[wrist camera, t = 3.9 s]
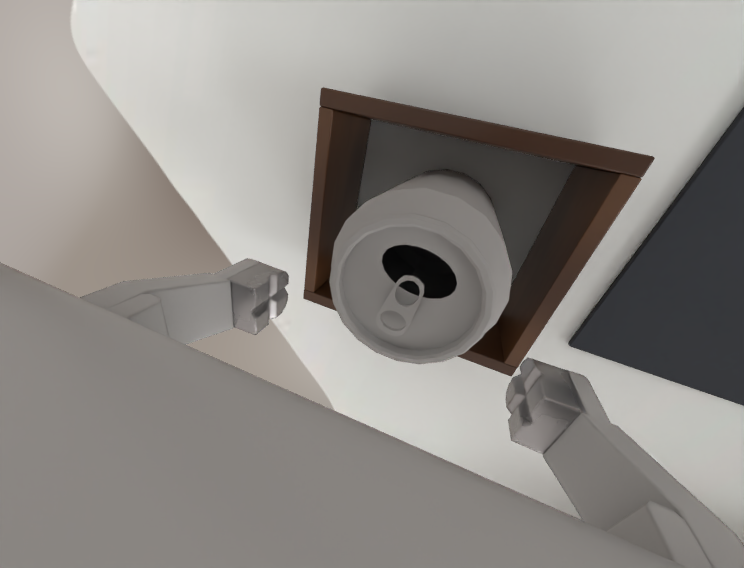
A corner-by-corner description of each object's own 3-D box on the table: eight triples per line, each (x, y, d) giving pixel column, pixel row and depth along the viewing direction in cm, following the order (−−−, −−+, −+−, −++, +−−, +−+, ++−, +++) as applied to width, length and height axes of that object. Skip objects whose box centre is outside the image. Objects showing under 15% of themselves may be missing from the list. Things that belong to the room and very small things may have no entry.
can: (518, 196, 18) (577, 263, 8) (459, 286, 22) (446, 408, 12) (414, 150, 19) (343, 153, 8) (376, 244, 22) (295, 325, 12)
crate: (363, 103, 18) (320, 86, 13) (597, 153, 16) (657, 156, 11) (338, 267, 25) (303, 298, 20) (502, 323, 22) (511, 377, 17)
